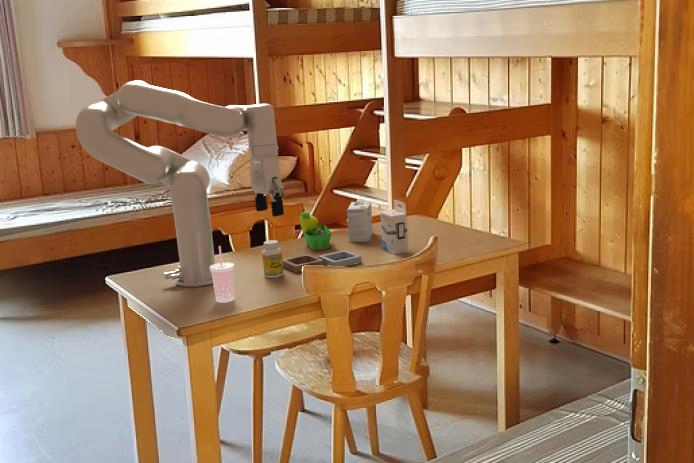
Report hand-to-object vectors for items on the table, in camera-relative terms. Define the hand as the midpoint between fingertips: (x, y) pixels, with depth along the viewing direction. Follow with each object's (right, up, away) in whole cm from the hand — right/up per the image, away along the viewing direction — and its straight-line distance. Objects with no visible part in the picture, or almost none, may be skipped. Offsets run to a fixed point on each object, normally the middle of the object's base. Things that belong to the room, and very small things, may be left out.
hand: (270, 213), depth 224 cm
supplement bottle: (+1, -17, +3) cm, 18 cm away
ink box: (+35, -11, +21) cm, 42 cm away
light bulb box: (+26, -7, +39) cm, 47 cm away
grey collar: (+19, -14, +11) cm, 26 cm away
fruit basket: (+11, -10, +32) cm, 35 cm away
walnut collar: (+8, -15, +10) cm, 20 cm away
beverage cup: (-10, -23, -15) cm, 29 cm away
